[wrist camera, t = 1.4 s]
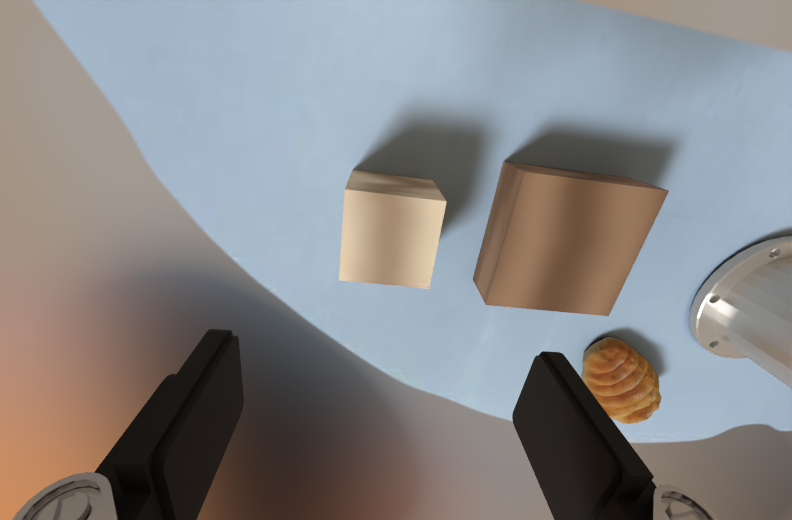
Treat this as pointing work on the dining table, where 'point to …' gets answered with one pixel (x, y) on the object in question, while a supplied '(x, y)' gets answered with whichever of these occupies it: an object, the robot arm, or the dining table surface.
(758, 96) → the dining table surface
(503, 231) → the walnut base
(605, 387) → the pastry
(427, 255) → the maple cube
